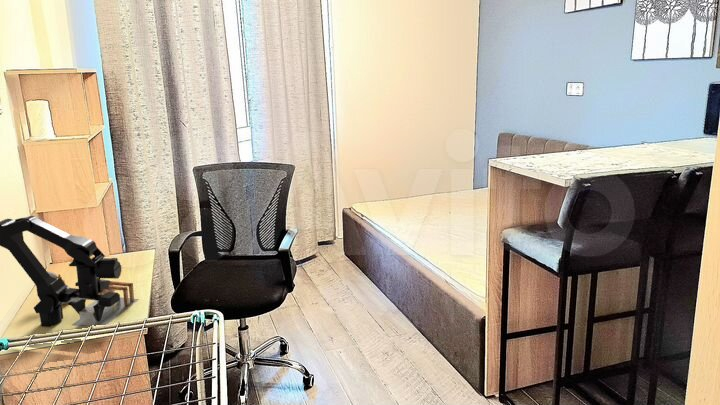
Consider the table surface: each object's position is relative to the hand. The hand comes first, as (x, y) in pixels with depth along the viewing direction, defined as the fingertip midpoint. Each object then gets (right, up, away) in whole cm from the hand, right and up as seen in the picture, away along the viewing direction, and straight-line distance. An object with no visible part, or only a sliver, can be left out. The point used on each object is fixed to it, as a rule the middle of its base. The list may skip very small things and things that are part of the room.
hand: (92, 320), depth 173 cm
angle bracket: (+2, +3, +17) cm, 17 cm away
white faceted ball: (-19, +3, +14) cm, 24 cm away
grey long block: (+1, 0, +5) cm, 5 cm away
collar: (+2, +2, +14) cm, 14 cm away
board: (+1, 0, +8) cm, 8 cm away
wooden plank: (-4, +3, +16) cm, 17 cm away
